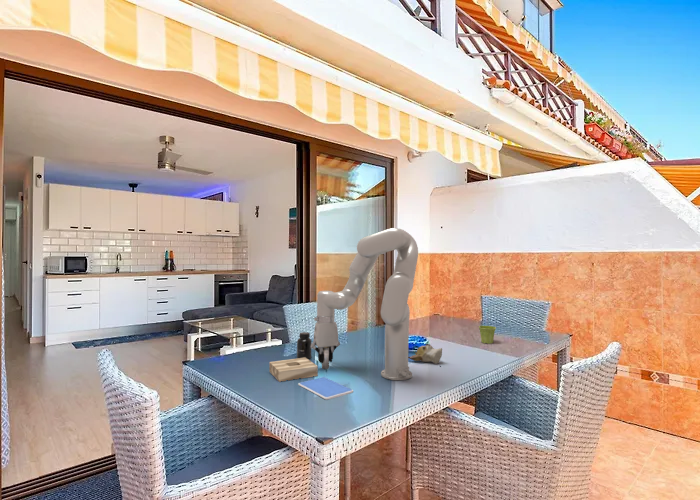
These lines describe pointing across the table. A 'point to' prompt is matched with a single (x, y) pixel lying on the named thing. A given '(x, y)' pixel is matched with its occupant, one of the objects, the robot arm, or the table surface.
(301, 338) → the supplement bottle
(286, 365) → the block
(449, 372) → the table surface
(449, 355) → the table surface
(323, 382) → the tablet computer
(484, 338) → the plant pot
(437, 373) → the table surface
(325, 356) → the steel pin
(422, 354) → the ceramic sculpture
